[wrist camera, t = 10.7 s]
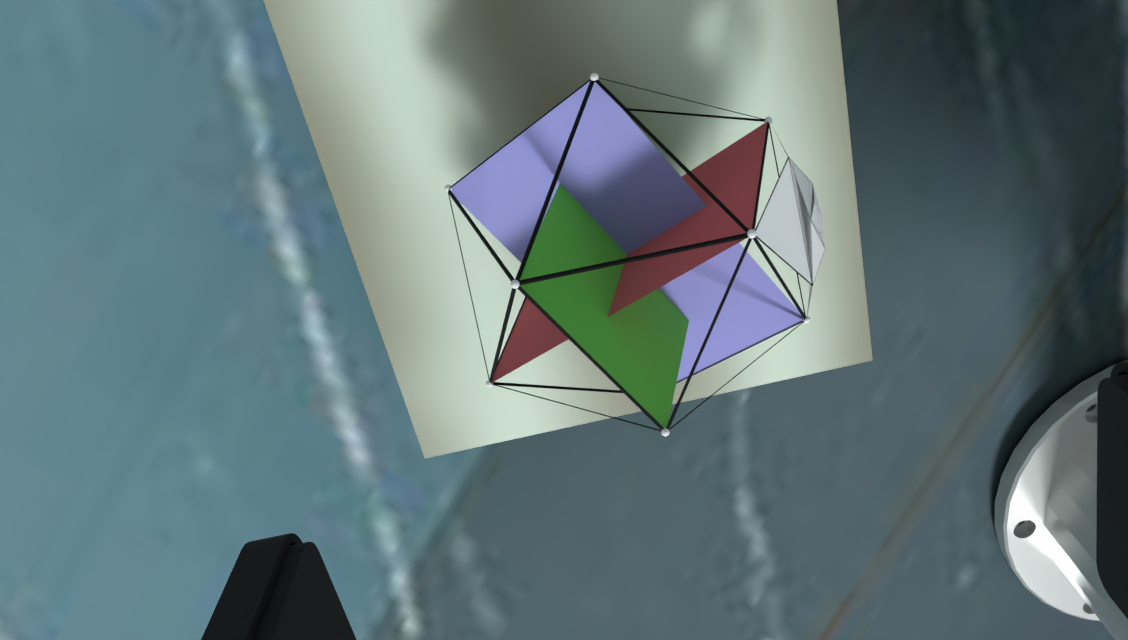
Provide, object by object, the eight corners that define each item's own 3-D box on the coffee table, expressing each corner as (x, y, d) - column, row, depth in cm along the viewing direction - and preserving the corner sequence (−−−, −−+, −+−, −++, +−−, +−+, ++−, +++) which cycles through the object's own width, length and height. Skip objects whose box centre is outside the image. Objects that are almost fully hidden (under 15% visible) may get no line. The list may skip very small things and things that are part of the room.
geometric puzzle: (547, 473, 23) (769, 527, 16) (335, 283, 21) (488, 250, 14) (700, 257, 26) (951, 223, 19) (526, 64, 23) (739, -58, 16)
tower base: (791, -235, 27) (913, -279, 19) (846, 275, 34) (953, 408, 25) (249, -95, 28) (134, -78, 19) (410, 372, 35) (375, 532, 26)
